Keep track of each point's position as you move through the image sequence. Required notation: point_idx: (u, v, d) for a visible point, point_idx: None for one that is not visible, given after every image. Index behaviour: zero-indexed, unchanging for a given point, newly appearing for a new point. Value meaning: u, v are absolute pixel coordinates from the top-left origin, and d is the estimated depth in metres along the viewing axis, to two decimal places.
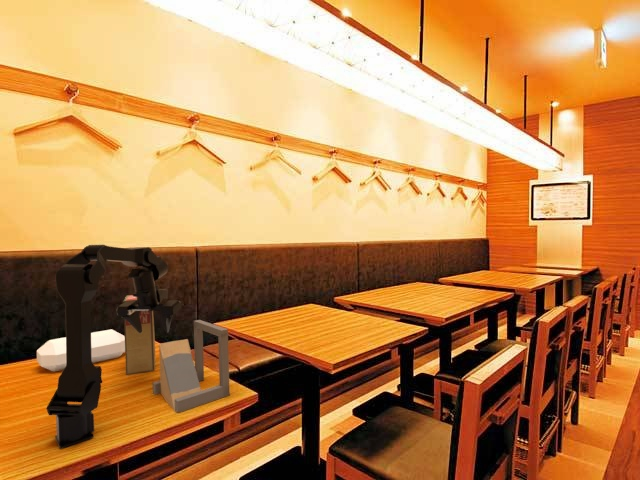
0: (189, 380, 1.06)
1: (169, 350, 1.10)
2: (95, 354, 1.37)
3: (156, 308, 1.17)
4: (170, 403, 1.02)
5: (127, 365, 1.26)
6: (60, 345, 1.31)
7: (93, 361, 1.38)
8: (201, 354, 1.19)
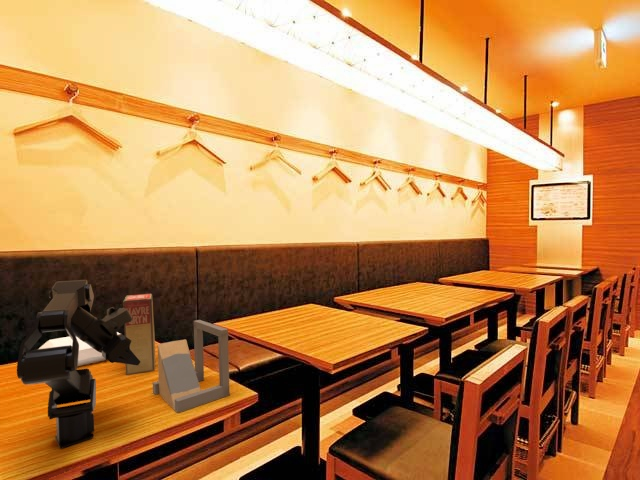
0: (189, 380, 1.06)
1: (168, 350, 1.10)
2: (94, 354, 1.37)
3: None
4: (170, 403, 1.02)
5: (127, 365, 1.26)
6: (59, 345, 1.32)
7: (92, 361, 1.38)
8: (201, 354, 1.19)
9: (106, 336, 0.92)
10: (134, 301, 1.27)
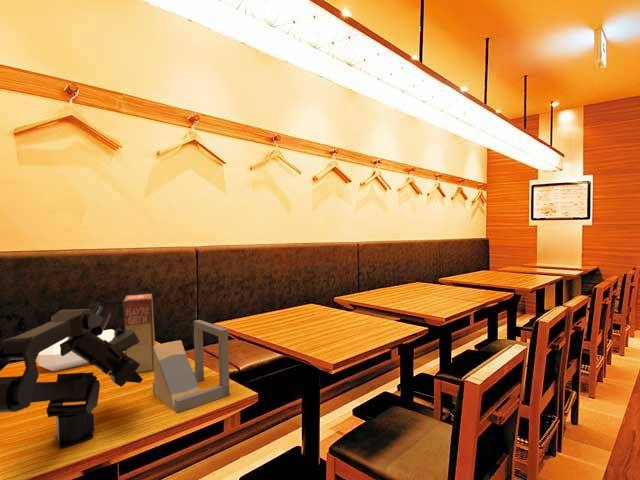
0: (187, 381, 1.06)
1: (164, 351, 1.09)
2: None
3: None
4: (170, 404, 1.01)
5: None
6: (59, 345, 1.32)
7: None
8: (201, 354, 1.19)
9: (114, 359, 0.94)
10: (134, 301, 1.27)
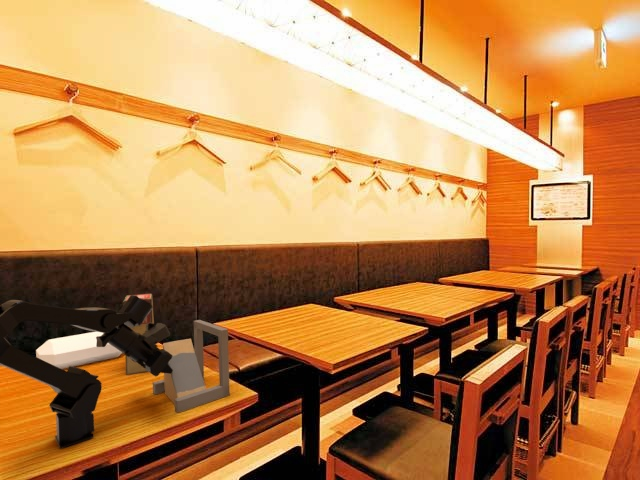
0: (194, 379, 1.07)
1: (173, 349, 1.11)
2: (93, 354, 1.37)
3: None
4: None
5: (127, 365, 1.26)
6: (58, 345, 1.32)
7: (92, 361, 1.39)
8: (201, 354, 1.19)
9: (148, 351, 0.99)
10: None
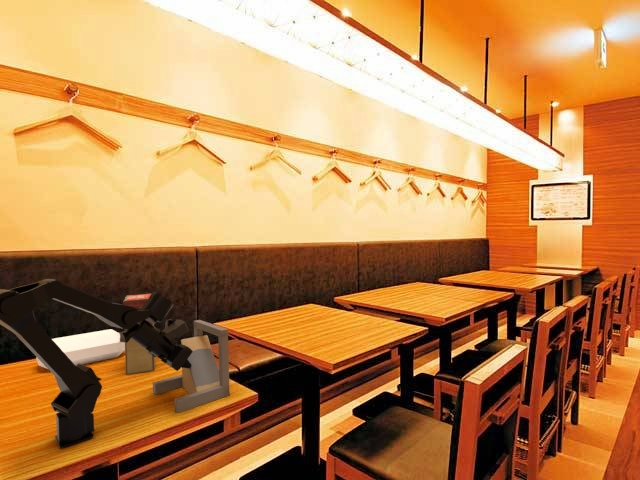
0: (212, 374, 1.11)
1: (191, 345, 1.15)
2: (92, 353, 1.37)
3: None
4: None
5: (127, 365, 1.26)
6: (58, 345, 1.32)
7: (91, 361, 1.39)
8: None
9: (168, 346, 1.03)
10: (134, 301, 1.27)
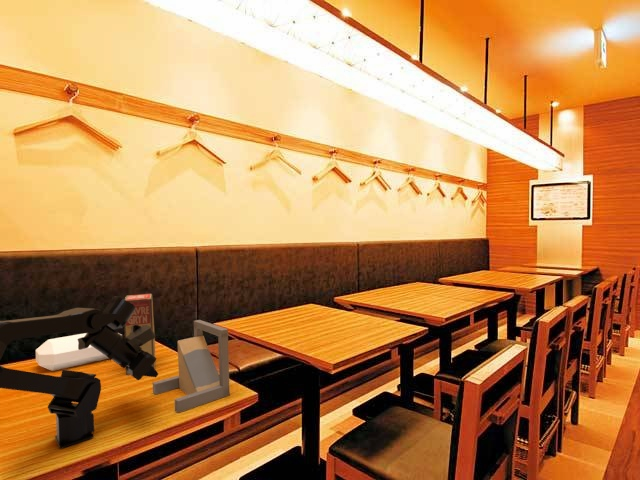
0: (211, 374, 1.11)
1: (188, 346, 1.14)
2: (93, 353, 1.37)
3: None
4: None
5: None
6: (58, 345, 1.32)
7: (91, 361, 1.39)
8: None
9: (131, 353, 0.96)
10: (134, 301, 1.27)
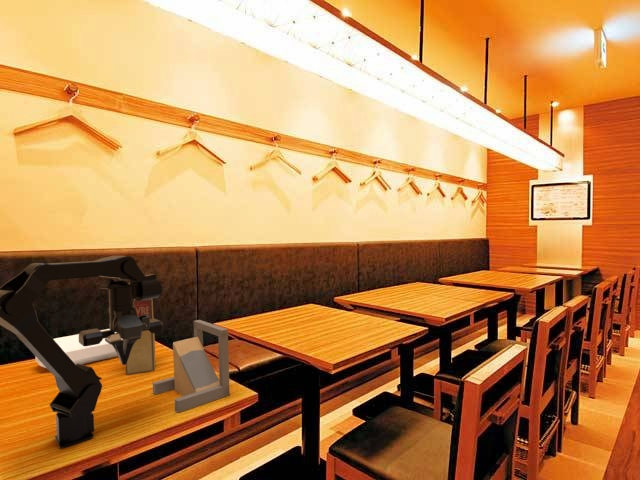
0: (209, 375, 1.10)
1: (184, 348, 1.12)
2: (93, 353, 1.38)
3: None
4: None
5: (127, 365, 1.26)
6: (59, 345, 1.32)
7: (92, 360, 1.39)
8: None
9: (111, 325, 0.95)
10: (134, 301, 1.27)
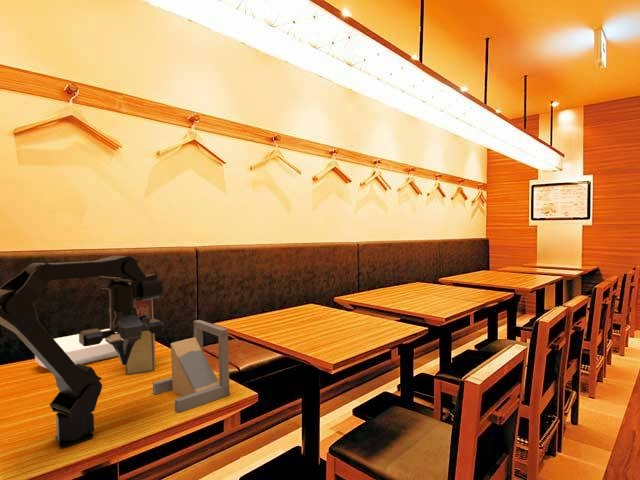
0: (208, 375, 1.10)
1: (182, 348, 1.12)
2: (94, 353, 1.38)
3: None
4: None
5: (127, 365, 1.26)
6: (59, 345, 1.32)
7: (92, 360, 1.40)
8: None
9: (112, 326, 0.95)
10: None
